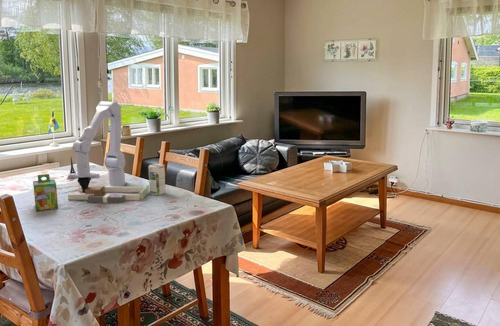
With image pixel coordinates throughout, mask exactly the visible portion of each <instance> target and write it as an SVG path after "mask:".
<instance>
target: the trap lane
mask: <svg viewBox="0 0 500 326" xmlns="http://www.w3.org/2000/svg"><path fill="white" fill-rule="evenodd" d="M89 186H90V185H89ZM89 186H88V187H89ZM78 191H79V192H81V193H68V194H67V199H68V200H70V201H72V200H73V201H74V200H78V201H79V200H80V201H82V200H83V201H86V200H87V203H105V204H106V203H113V204H114V203H121V204H122V203H123V202H125V201H143V200H144V198H145V197H146V196H147V195H148V194H149V193H150V188H149V184H146V185H145V186H122V187H107V186H105V194H104V195H103V196H102V197H94V194H85V193H83V190H82V188H81V186H80V185H79V187H78ZM111 193H123V194H122V195H121V196H112V194H111ZM125 193H126V194H125ZM127 193H129V194H127ZM130 193H131V194H130ZM132 193H134V194H132ZM137 193H138V194H137Z"/></svg>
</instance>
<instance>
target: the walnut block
mask: <svg viewBox="0 0 500 326" xmlns="http://www.w3.org/2000/svg"><path fill="white" fill-rule="evenodd" d="M105 187H106V186H105V185H89V187H88V188H86V189H85V193H84V194H94V197H104V196H105V195H106V192H105Z"/></svg>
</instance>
